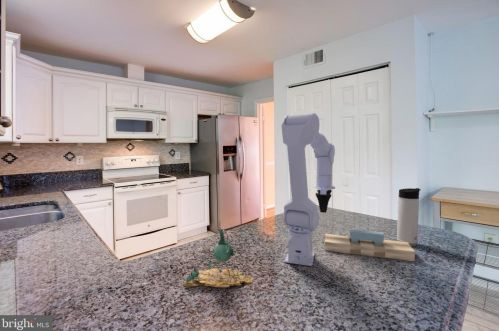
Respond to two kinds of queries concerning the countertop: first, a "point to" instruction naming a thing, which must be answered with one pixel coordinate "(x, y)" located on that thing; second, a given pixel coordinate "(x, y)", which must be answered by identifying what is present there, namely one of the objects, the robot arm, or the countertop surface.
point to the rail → (370, 247)
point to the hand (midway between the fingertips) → (323, 209)
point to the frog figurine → (218, 276)
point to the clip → (367, 236)
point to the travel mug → (408, 215)
